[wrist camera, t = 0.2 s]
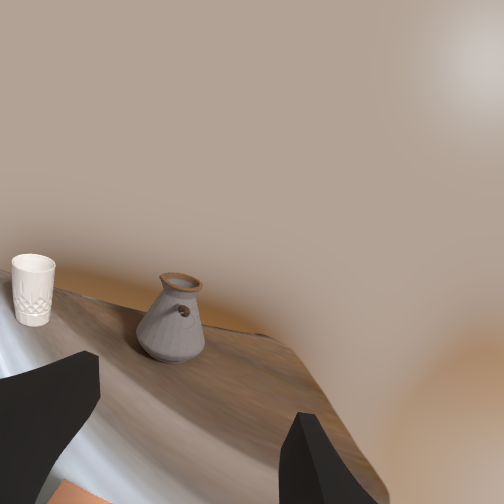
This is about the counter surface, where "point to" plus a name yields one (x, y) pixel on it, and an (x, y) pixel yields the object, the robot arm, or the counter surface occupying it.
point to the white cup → (32, 288)
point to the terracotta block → (74, 495)
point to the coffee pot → (173, 321)
